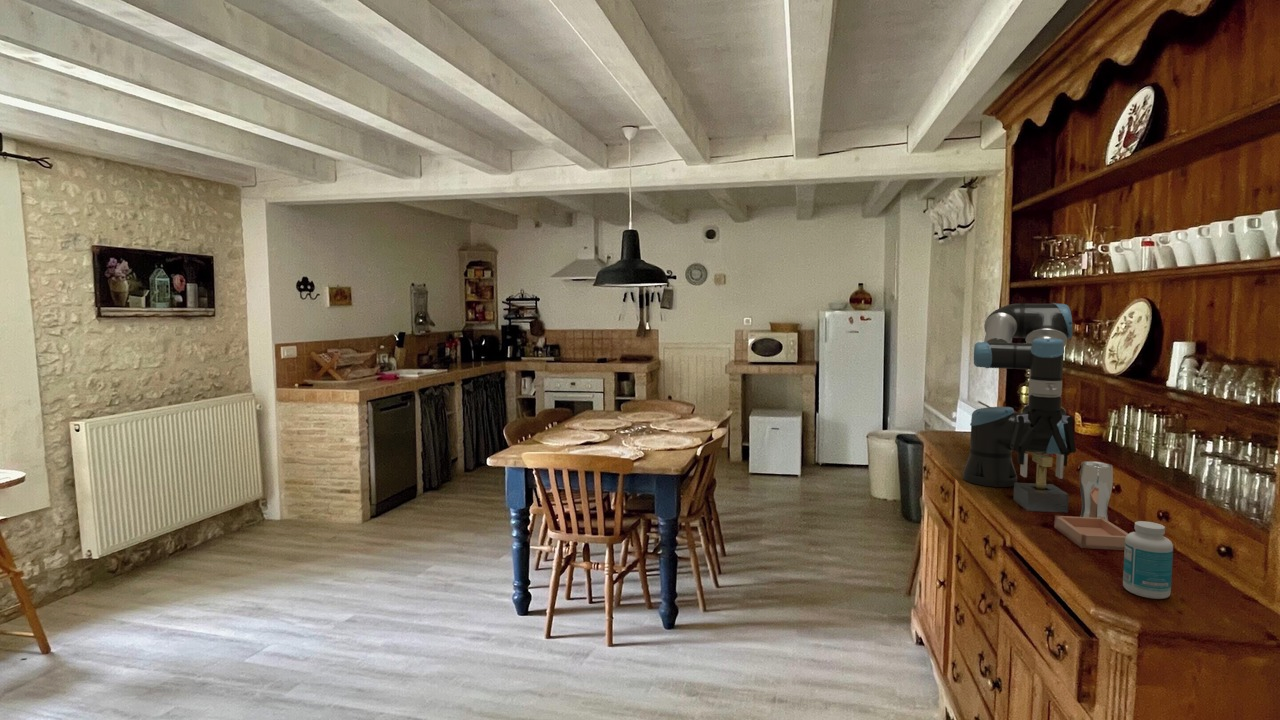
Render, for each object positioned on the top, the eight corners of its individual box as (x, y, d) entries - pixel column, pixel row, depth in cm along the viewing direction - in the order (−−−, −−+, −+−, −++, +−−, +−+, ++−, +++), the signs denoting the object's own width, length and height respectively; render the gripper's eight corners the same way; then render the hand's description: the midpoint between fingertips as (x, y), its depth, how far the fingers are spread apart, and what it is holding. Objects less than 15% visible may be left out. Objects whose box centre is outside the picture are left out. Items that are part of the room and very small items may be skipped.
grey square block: (1013, 499, 188) (1014, 482, 187) (1051, 501, 186) (1052, 484, 186) (1027, 510, 178) (1028, 492, 177) (1067, 512, 176) (1068, 494, 176)
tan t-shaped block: (1029, 502, 186) (1032, 451, 184) (1039, 502, 185) (1041, 452, 184) (1040, 509, 179) (1042, 457, 177) (1049, 510, 178) (1052, 458, 177)
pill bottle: (1179, 597, 126) (1184, 528, 125) (1153, 603, 124) (1158, 533, 122) (1138, 581, 133) (1142, 516, 132) (1113, 587, 131) (1117, 521, 129)
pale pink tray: (1054, 527, 165) (1054, 515, 165) (1103, 529, 163) (1103, 518, 163) (1081, 547, 151) (1081, 535, 151) (1134, 550, 149) (1135, 538, 149)
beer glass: (1115, 526, 165) (1119, 468, 164) (1084, 525, 166) (1088, 467, 165) (1102, 517, 172) (1105, 461, 171) (1072, 516, 173) (1075, 460, 172)
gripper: (1008, 396, 177) (1004, 478, 179) (1094, 397, 174) (1090, 481, 176) (998, 392, 185) (995, 471, 187) (1081, 393, 181) (1076, 474, 183)
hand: (1041, 476), depth 181 cm, fingers open, 8 cm apart
